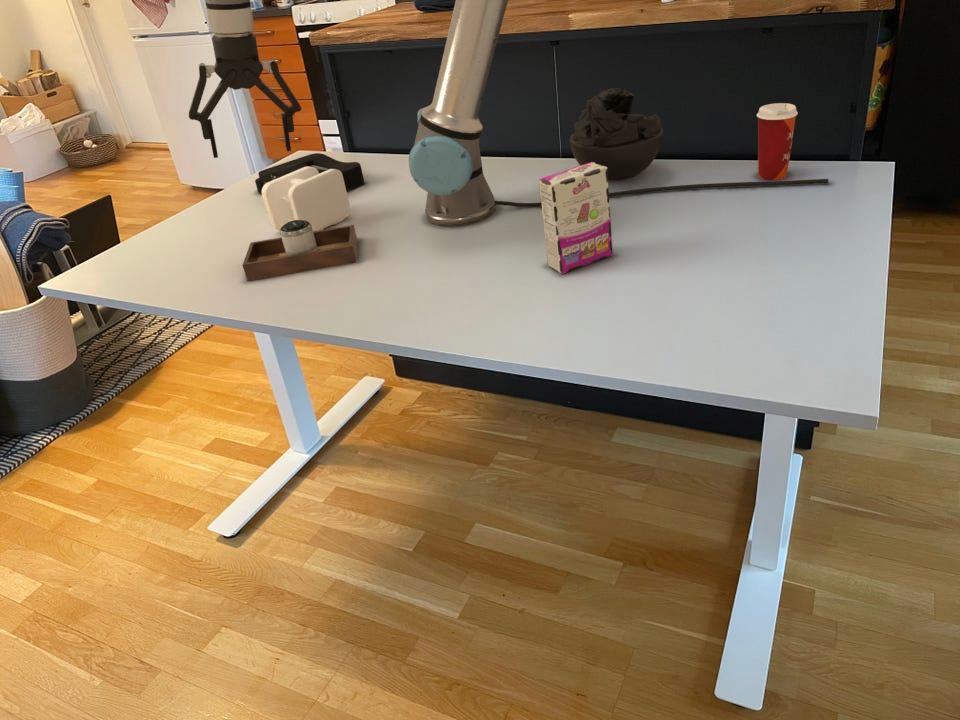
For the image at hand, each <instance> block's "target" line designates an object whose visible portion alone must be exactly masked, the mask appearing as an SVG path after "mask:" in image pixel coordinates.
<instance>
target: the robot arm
mask: <svg viewBox="0 0 960 720" xmlns="http://www.w3.org/2000/svg"><path fill="white" fill-rule="evenodd" d="M204 1H205V7H206V14H207V19H208V25H209V31H210V32H211V33H212V34H214V35H212V37H211V42H212V47H213V53H214V59H215V63H214V64H206V63H204V62H200V63H199V64H198V73H199V74H198V75H199V77H198V79H197V83H196V86H195V90H194V92H193V93H194V94H193V96H192V100H191V104H190V106H189V110H188V118H189V120H192V121H197V122H199V123H200V127H201V132H202V137H203V139H204V140H210V145H211V151H212V154H213V158H214V159H217V158H219V153H218V149H217V148H218V147H217V143H216V138H215V132H214V128H213V122H212V121H213V120H212V118H210V116H211V115H212V114H213V112H214V110H215V108H216V107H217V105H218V104H219V102H220V101H221V100H222V98H223V96H224V94H226V92H227V90H228V89H229V88H230V89H231V90H233V91H237V90H241V89H245V90H251V89H252V88H254V87H256V88H257V89H258V90H260V91H261V92H262V93H263V94H264V95H265V96H266V97H267V98H268V99H269V100H271V102H272V103H273V104H274V105H276V106H277V107H278V108H279V110H281V111H282V112H283V113H280V116H281V122H282V129H283V137H284V144H285V149H286V152H292V148H291V140H290V133H295V126H294V117H293V116H294V114H296V113H297V112H298V113H299V112H301V110H302V106H301V104H300V102H299V101H298V99H297V98H296V96H295V94H294V93H293V91H292V89H290V86H289V85H288V84H287V81H286V80H285V79H284V77H283V76H282V74H281V72H280V70H279V69H280V68H279V66H278V62H277V60H276V59H275V58H271V59H270V60H268V61H261V60H260V57H259V51H258V43H257V37H256V35H255V34H254V33H253V32H254V31H255V23H254V16H253V10H252V3H251V0H204ZM508 3H509V0H455V2H454V7H453V11H452V15H451V20H450V24H449V27H448V28H449V29H448V33H447V37H446V41H445V46H444V50H443V54H442V59H441V62H440V66H439V72H438V76H437V80H436V84H435V89H434V94H433V98H432V102H431V104H429V105H427V106H425V107H422V108H420V109H419V110H418V111H417V123H416V124H417V126H418V127H417V131H416V135H415V140H414V143H413V146H412V148H411V150H410V151H409V155H408V167H409V168H408V169H409V172H410V175H411V178H412V179H413V181H414V183H416V184H417V185H418V187H419V188H420V189H421V190H423V191H425V192H427V194H426V200H425V201H426V202H425V208H424V212H425V217H426V220H427V222H429V223H430V224H433V225H435V226H440V227H441V226H442V227H459V226H460V227H461V226H466V225H472V224H474V223H478V222H481V221H483V220H485V219H487V218H489V217H491V216H492V215H493V214H494V213H495V212H496V209H497V206H509V207H516V208H536V207H537V208H538V207H542V205H541V201H539V202H515V201H505V200H496V197H495V195H494V194H493V192H492V190H491V187H490V186H489V183H488V181H487V180H486V177H485V175H484V170H483V164H482V155H481V148H480V141H481V136H482V131H483V129H484V128H483V124H482V122H481V121H480V119H479V117H478V115H479V112H480V108H481V104H482V100H483V96H484V93H485V89H486V86H487V82H488V77H489V74H490V70H491V66H492V63H493V59H494V55H495V51H496V47H497V44H498V39H499V36H500V33H501V29H502V26H503V25H502V24H503V21H504V18H505V14H506V10H507V6H508ZM264 70H266V72H267V73H268V74H269V75H273V78H274V79H275V81H276V83H277V84H278V85H279V87H280V88H281V90H282V92H283V93H284V95H285V96H286V97H287V99H288V101H289V103H290V105H288V104H287V103H286V102H285V101H284V100H283V99H282V98H281V97H280V96H279V95H278V94H276V92H274V90H272V88H270V87H269V85H267V84H266V83H265V81H264V80H262V79H261V78H260V76H261V75H262V73H263V71H264ZM213 73H215V74H216V75H217V76H218V78H220V81H219V83H218V84H217V86H216V88H215V90H214V91H213V93H212V95H211V96H210V97H209V99H208V101H207V102H206V103H205V106H204V107H203V108H202V110H201V111H200V112H199V108H200V105H201V101H202V98H203V95H204V91H205V89H206V85H207V80H208V79H210V78H211V77H212V74H213ZM815 184H816V185H817V184H829V178H815V179H813V178H812V179H795V180H793V179H792V180H764V181H741V182H739V181H738V182H716V183H715V182H713V183H697V184H682V185H681V184H680V185H669V186H657V187H646V188H638V189H637V188H636V189H629V190H628V189H627V190H621V191H614V192H609V198H612V197H619V196H620V197H621V196H628V195H629V196H630V195H636V194H637V195H638V194H645V193H655V192H657V193H658V192H667V191H679V190H680V191H681V190H693V189H695V190H697V189H713V188H738V187H740V188H741V187H763V186H764V187H767V186H768V187H769V186H772V187H773V186H795V185H796V186H797V185H815Z"/></svg>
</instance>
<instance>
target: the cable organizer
mask: <svg viewBox="0 0 960 720" xmlns="http://www.w3.org/2000/svg"><path fill="white" fill-rule="evenodd" d="M261 196H262V199H263V203H264V206H265V209H266V214H267V216H268V219H269V222H270V227H271V228H272V229H273V230H274V231H277V232H280V229H281V227H282V226H283V225H285V224H286V223H288V222H290V221H294V220H305V221H308V222H309V223H310V224H311V226H312V230H313V232H315V231H320V230H325V228H327V227H329V226H335V225H337V224H339V223H341V222H343V221H344V220H345V218H347V217H348V216H349V214H350V212H351V205H350V200H349V195H348V191H346V188H345V183H344V179H343V175H342V173H341V171H339V170H336V169H329V170H327V171H324V172H322V173H320V174H319V172H318V170H317V169H316V168H314V167H303V168H301V169H299V170H296V171H294V172H292V173H289V174H287V175H284V176H282V177H280V178H277V179H275V180H272V181H270V182H268V183H266V184H265V185H264V186H263V188H262V194H261Z"/></svg>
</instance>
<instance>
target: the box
mask: <svg viewBox="0 0 960 720" xmlns="http://www.w3.org/2000/svg"><path fill="white" fill-rule="evenodd" d="M313 234H314V237H315V241H316V245H317V251H312V252H306V253H300V254H295V255H289V256H287V255H286V251H285V248H284V244H283V241H282V237H281V236H280V237H274V238H268V239H264V240H257V241H252V242H250V243H249V246H248V249H247V251H246V254H245V256H244V259H243V262H242V269H243V272H244V274H245V277H246V280H247V282H251V281H257V280H262V279H263V280H264V279H268V278H274V277H281V276H285V275H290V274H291V275H292V274H296V273H303V272H308V271H314V270H320V269H326V268H332V267H336V266H343V265H348V264H354V263H357V259H358V236H357V232H356V228H355V224H351V225H344V226H338V227H332V228H327V229H323V230H320V231H315V232H313Z"/></svg>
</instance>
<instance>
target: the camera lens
mask: <svg viewBox="0 0 960 720" xmlns="http://www.w3.org/2000/svg"><path fill="white" fill-rule="evenodd" d="M279 234H280V237H282V241H283V244H284V248H285V251H286V255H287V256H289V255H295V254H300V253H306V252H312V251H317V245H316V241H315V237H314V234H313V230H312V226H311V224H310V223H309V222H308V221H305V220H294V221H290V222H288V223H286V224H285V225H283V226H282V227H281V229H280V231H279Z"/></svg>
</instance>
